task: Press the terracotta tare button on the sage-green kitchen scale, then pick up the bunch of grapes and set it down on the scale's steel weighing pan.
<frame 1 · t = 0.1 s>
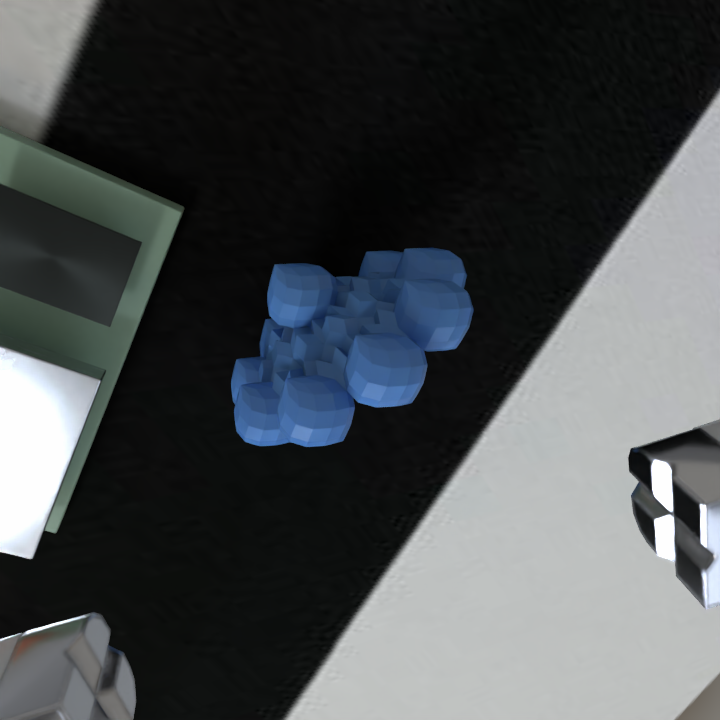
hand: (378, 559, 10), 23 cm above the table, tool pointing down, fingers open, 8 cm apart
grapes: (314, 285, 32), on the table
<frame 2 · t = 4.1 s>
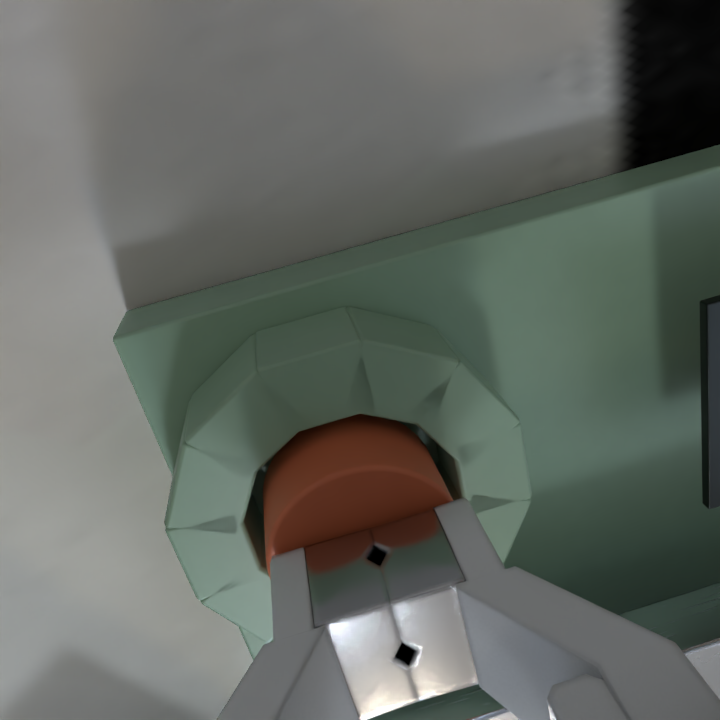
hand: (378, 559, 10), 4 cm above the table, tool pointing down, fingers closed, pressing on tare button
tare button: (358, 517, 10), point 3 cm above the table, slide at -0.3 cm, touching gripper
scale pan: (700, 688, 13), on the scale, point 3 cm above the table
scale: (586, 556, 16), on the table
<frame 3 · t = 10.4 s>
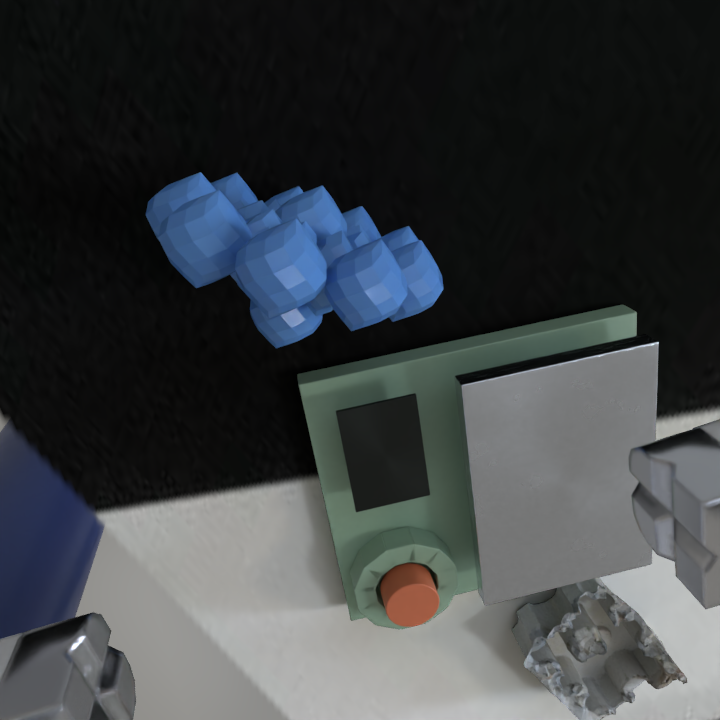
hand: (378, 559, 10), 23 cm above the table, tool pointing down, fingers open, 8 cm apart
tare button: (409, 594, 36), point 3 cm above the table, slide at 0.1 cm
egg carton: (578, 626, 44), on the table
grapes: (287, 237, 31), on the table
scale pan: (506, 490, 34), on the scale, point 3 cm above the table
scale: (476, 464, 37), on the table
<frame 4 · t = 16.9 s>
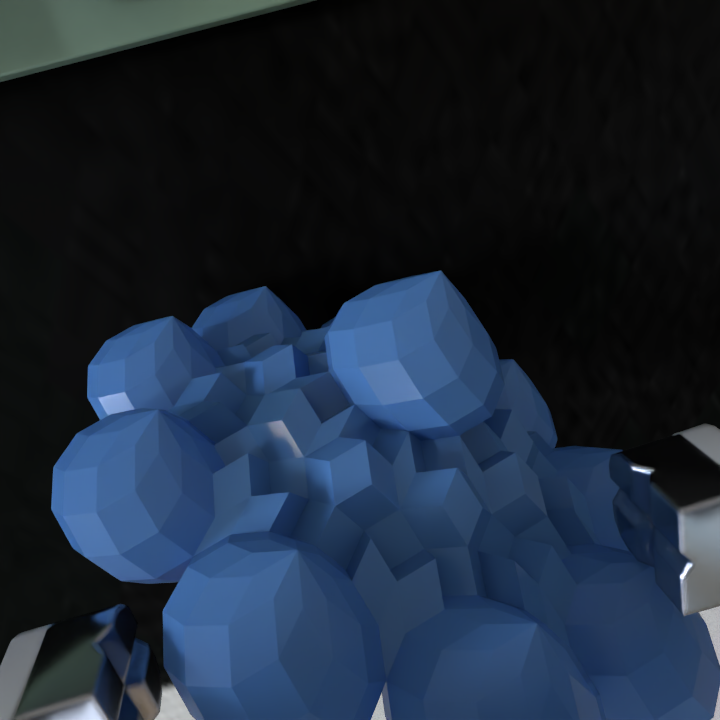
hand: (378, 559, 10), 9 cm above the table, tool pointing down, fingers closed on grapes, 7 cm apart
grapes: (359, 298, 17), on the table, touching gripper
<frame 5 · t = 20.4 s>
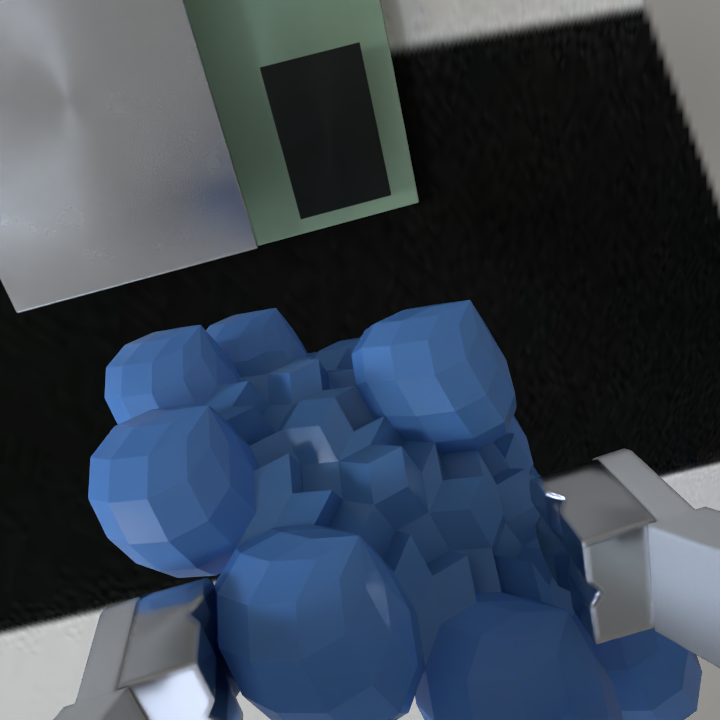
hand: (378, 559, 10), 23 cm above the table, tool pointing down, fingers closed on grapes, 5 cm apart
grapes: (350, 330, 18), point 14 cm above the table, touching gripper
scale pan: (151, 79, 24), on the scale, point 3 cm above the table
scale: (170, 64, 27), on the table
when the fingers open (13 cm above the table, at t = 24.4 s): grapes stays where it is, resting on scale pan.
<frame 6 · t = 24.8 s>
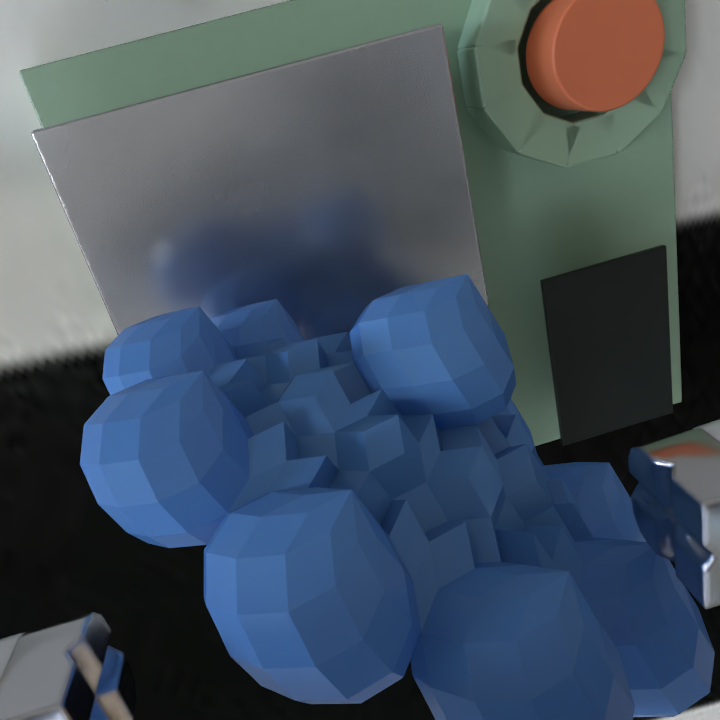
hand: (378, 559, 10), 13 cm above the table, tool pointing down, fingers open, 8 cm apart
tare button: (592, 49, 17), point 3 cm above the table, slide at 0.1 cm
grapes: (353, 328, 18), point 4 cm above the table, touching scale pan
scale pan: (415, 306, 19), on the scale, point 3 cm above the table
scale: (401, 256, 22), on the table
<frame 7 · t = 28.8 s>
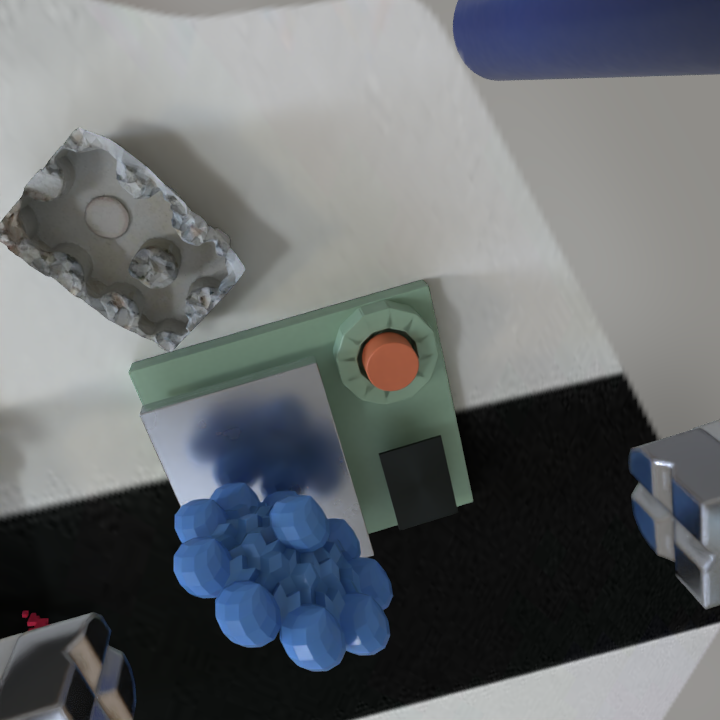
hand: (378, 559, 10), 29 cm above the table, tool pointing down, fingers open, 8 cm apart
tare button: (389, 361, 37), point 3 cm above the table, slide at 0.1 cm
egg carton: (137, 234, 35), on the table
grapes: (283, 483, 38), point 4 cm above the table, touching scale pan
scale pan: (314, 470, 39), on the scale, point 3 cm above the table
scale: (314, 432, 42), on the table
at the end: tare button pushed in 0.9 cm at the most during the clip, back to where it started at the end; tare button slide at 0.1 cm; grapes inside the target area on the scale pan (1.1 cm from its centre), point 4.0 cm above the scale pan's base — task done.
